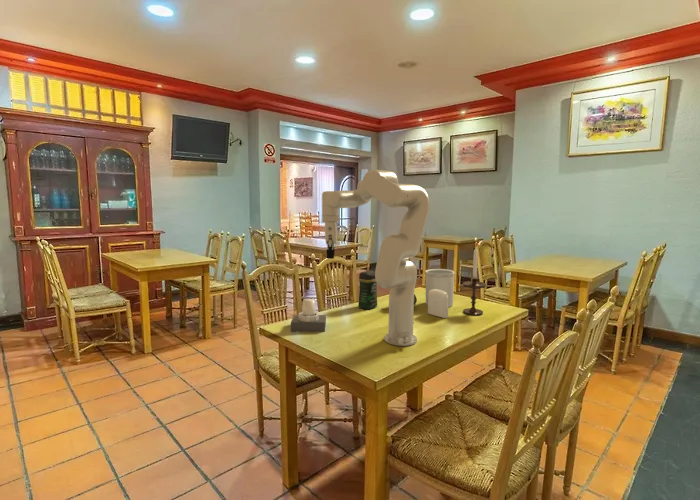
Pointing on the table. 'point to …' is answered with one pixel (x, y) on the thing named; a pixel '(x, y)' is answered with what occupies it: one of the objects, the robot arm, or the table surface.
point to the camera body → (308, 323)
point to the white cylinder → (308, 307)
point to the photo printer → (438, 303)
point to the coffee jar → (367, 290)
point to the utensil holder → (440, 282)
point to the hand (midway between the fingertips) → (330, 256)
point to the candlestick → (474, 287)
